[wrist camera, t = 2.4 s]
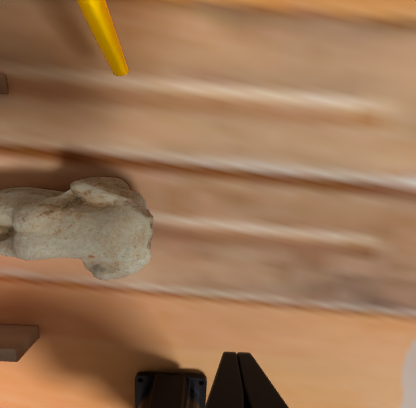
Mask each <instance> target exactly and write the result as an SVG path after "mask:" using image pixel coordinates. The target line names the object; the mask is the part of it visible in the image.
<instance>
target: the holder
mask: <svg viewBox="0 0 416 408" xmlns="http://www.w3.org/2000/svg"><path fill="white" fill-rule="evenodd" d="M0 93H1V94H8V88H7V80H6V75H4V74H1V73H0ZM38 338H39V333H38V326H25V325H3V324H0V361H9V362H18V361H19V360H20V358H21V357H22V356H23V355H24V354H25V353H26V352H27V351H28V349H29V348H30V347H31V346H32V345H33V344H34V343H35V342H36V341H37V339H38Z"/></svg>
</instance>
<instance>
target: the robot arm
mask: <svg viewBox="0 0 416 408" xmlns="http://www.w3.org/2000/svg"><path fill="white" fill-rule="evenodd" d="M141 378H142V379H141ZM206 386H207V378H206V376H205V375H202V374H181V373H157V372H139V373H137V375H136V378H135V405H136V408H288V406H287V405H286V403H285V402H284V400H283V399H282V398H281V396H280V395H279V393H278V392H277V390H276V389H275V388H274V386H273V385H272V383H271V382H270V380H269V379H268V378H267V376H266V375H265V373H264V372H263V370H262V369H261V368H260V366H259V365H258V363H257V362H256V360H255V359H254V358H253V356H252V355H251V354H250V353H244V352H238V353H237V354H236V353H235V352H224V353H223V355H222V358H221V361H220V364H219V367H218V370H217V373H216V376H215V379H214V382H213V385H212V388H211V391H210V394H209V397H208V400H207V403H206V406H205V402H206Z"/></svg>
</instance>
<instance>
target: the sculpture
mask: <svg viewBox="0 0 416 408" xmlns="http://www.w3.org/2000/svg"><path fill="white" fill-rule="evenodd" d="M152 235H153V216H152V215H151V214H150V212H149V210H148V206H147V203H146V201H145V199H144V198H143V196H142V195H140V194H139V193H137V192H135V191H131V190H130V189H129V185H128V184H127V183H126V182H125V181H124V180H122V179H119V178H112V177H89V178H84V179H80V180H77V181H74V182H72V183H71V184H70V189H69V190H68V191H67V192H62V191H54V190H47V189H40V188H34V187H12V188H6V189H0V255H4V256H10V257H17V258H20V259H23V260H38V259H51V258H67V257H69V258H76V259H82V260H83V261H84V266H85V268H86V269H87V270H89V271H90V272H92V274H93V275H94V276H95V277H96V278H98V279H100V280H112V279H120V278H123V277H126V276H129V275H132V274H134V273H136V272H138V271H139V270H141V269H142V268H143V267H144V266H145V265H146V264H147V263H148V262H149V260H150V256H151V253H150V244H151V239H152Z"/></svg>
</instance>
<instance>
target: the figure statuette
mask: <svg viewBox="0 0 416 408" xmlns="http://www.w3.org/2000/svg"><path fill="white" fill-rule="evenodd" d="M77 2H78V4H79V6H80V8H81V11H82V13H83V15H84V17H85V19H86V21H87V23H88V25H89V27H90V29H91V31H92V33H93V35H94V37H95V39H96V41H97V43H98V45H99V46H100V48H101V50H102V52H103V54H104V56H105V58H106V60H107V62H108V64H109V65H110V67H111V69H112V71H113V73H114V75H116V76H123V75H126V74H127V73H128V72H129V69H128V67H127V64H126V61H125V58H124V55H123V52H122V49H121V46H120V43H119V40H118V37H117V34H116V31H115V28H114V25H113V22H112V19H111V16H110V13H109V10H108V7H107V4H106V0H77Z"/></svg>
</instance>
